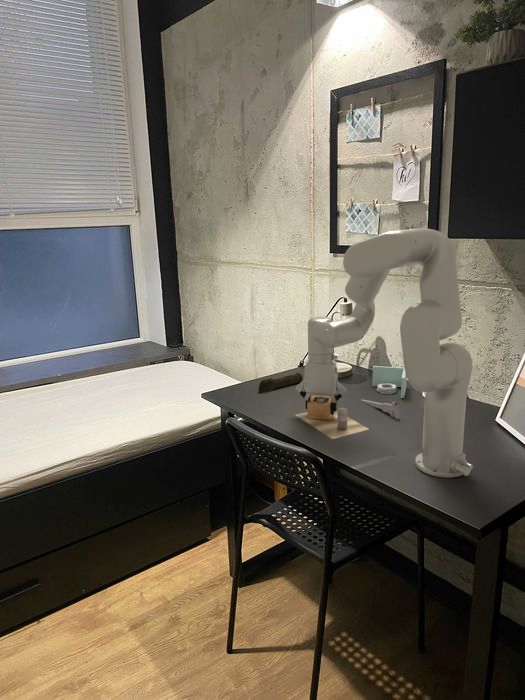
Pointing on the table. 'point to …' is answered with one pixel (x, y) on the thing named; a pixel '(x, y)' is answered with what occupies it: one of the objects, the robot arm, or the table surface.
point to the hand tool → (279, 382)
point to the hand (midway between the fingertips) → (321, 411)
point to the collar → (319, 408)
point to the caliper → (386, 407)
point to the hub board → (334, 423)
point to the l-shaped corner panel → (389, 379)
